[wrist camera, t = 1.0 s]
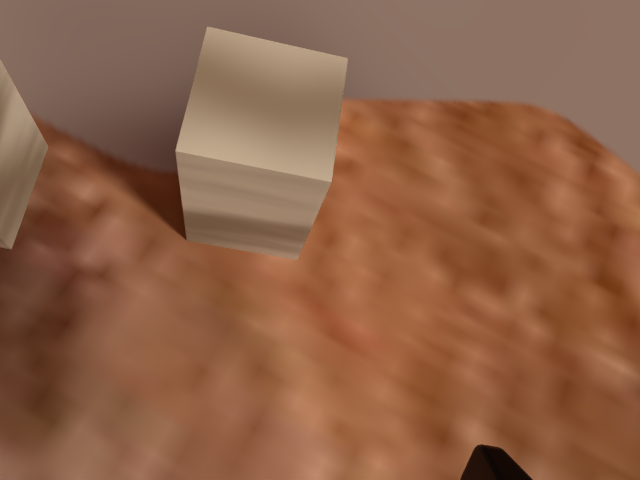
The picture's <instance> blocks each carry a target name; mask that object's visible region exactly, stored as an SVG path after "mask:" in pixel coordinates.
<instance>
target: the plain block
mask: <svg viewBox="0 0 640 480" xmlns="http://www.w3.org/2000/svg"><path fill="white" fill-rule="evenodd" d="M347 61H348V58H344V57H340V56H335V55H331V54H326V53H322V52H317V51H313V50H309V49H304V48H300V47H295V46H291V45H286V44H282V43H277V42H273V41H269V40H264V39H260V38H256V37H251V36H247V35H242V34H238V33H234V32H229V31H224V30H220V29H216V28H211V27H207V30H206V34H205V38H204V42H203V46H202V50H201V54H200V58H199V61H198V65H197V69H196V73H195V77H194V81H193V84H192V88H191V92H190V96H189V100H188V104H187V108H186V112H185V115H184V119H183V123H182V127H181V131H180V135H179V139H178V143H177V147H176V150H175V152H176V160H177V168H178V176H179V184H180V192H181V200H182V207H183V215H184V223H185V231H186V239H187V241H192V242H198V243H204V244H209V245H215V246H220V247H226V248H232V249H237V250H243V251H248V252H254V253H260V254H265V255H271V256H276V257H282V258H288V259H293V260H297V259H298V257H299V255H300V253H301V250H302V248H303V246H304V243H305V241H306V239H307V237H308V234H309V232H310V230H311V228H312V225H313V223H314V221H315V218H316V216H317V214H318V212H319V209H320V207H321V205H322V203H323V200H324V198H325V196H326V193H327V191H328V189H329V187H330V184H331V182H332V175H333V167H334V160H335V152H336V144H337V137H338V129H339V122H340V114H341V107H342V99H343V91H344V84H345V77H346V69H347Z"/></svg>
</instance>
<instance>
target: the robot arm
mask: <svg viewBox="0 0 640 480" xmlns="http://www.w3.org/2000/svg"><path fill="white" fill-rule="evenodd" d="M461 480H532V478H531V477H530V476H529V475H528V474H527V473H526V472H525V471H524V470H523V469H522V468H521V467H520V466H519V465H518V464H517V463H516V462H515V461H514V460H513V459H512V458H511V457H510V456H509V455H508V454H507V453H506V452H505V451H504V450H503V449H501V448H499V447H494V446H488V445H482V444H481V445H478V446H476V447H475V449H474V450H473V452H472V455H471V457H470V459H469V461H468V463H467V465H466V468H465V470H464V472H463V474H462V476H461Z"/></svg>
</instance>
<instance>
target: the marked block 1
mask: <svg viewBox="0 0 640 480" xmlns="http://www.w3.org/2000/svg"><path fill="white" fill-rule="evenodd" d="M47 149H48V145H47V144H46V142H45V140H44V138H43V136H42V135H41V133H40V131H39V129H38V127H37V125H36V124H35V122H34V120H33V118H32V116H31V114H30V113H29V111H28V109H27V107H26V105H25V104H24V102H23V100H22V98H21V96H20V94H19V93H18V91H17V89H16V87H15V85H14V83H13V82H12V80H11V78H10V76H9V74H8V72H7V71H6V69H5V67H4V65H3V63H2V62H1V60H0V247H1V248H6V249H12V247H13V244H14V241H15V238H16V236H17V233H18V230H19V227H20V224H21V222H22V219H23V216H24V213H25V211H26V208H27V205H28V202H29V199H30V197H31V194H32V191H33V188H34V185H35V183H36V180H37V177H38V174H39V171H40V169H41V166H42V163H43V160H44V157H45V155H46V152H47Z"/></svg>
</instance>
